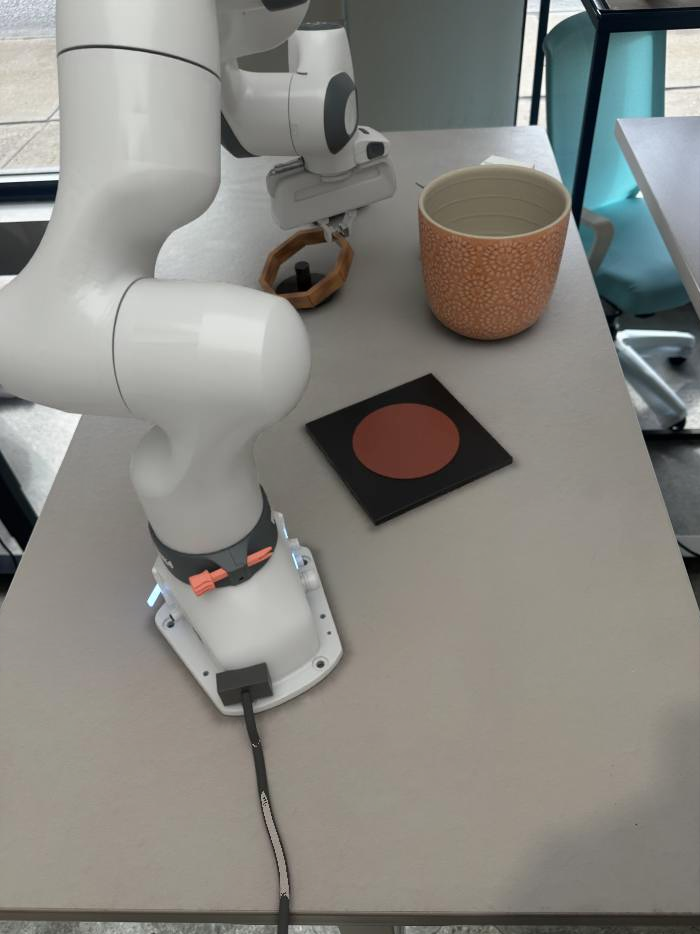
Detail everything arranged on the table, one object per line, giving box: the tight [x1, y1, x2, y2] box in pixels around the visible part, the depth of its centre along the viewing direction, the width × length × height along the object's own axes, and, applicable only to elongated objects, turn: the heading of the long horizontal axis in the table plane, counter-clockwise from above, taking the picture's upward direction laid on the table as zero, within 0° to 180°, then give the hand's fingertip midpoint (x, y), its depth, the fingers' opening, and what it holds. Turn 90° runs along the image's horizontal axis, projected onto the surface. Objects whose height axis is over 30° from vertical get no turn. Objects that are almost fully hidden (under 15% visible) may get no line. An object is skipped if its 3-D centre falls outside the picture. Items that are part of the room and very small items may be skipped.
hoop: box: [258, 225, 355, 310], centre depth 118 cm, size 15×15×2 cm
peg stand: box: [274, 260, 336, 310], centre depth 119 cm, size 10×10×5 cm
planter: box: [417, 164, 573, 341], centre depth 107 cm, size 21×21×19 cm
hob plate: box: [304, 372, 514, 526], centre depth 96 cm, size 20×20×1 cm
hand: (338, 237), depth 117 cm, fingers closed on hoop, 1 cm apart
